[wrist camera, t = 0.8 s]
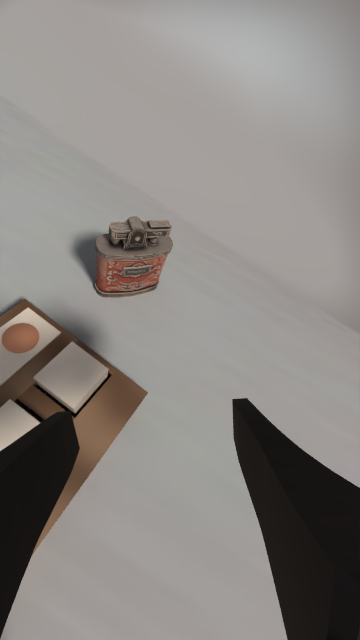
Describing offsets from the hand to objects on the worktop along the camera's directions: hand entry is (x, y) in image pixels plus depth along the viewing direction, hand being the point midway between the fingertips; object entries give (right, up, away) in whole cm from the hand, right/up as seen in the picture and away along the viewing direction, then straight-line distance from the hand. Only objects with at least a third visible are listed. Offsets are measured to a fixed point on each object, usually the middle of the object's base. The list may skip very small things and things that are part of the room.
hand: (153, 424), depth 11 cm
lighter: (-6, +9, +20) cm, 23 cm away
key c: (-8, -1, +12) cm, 14 cm away
